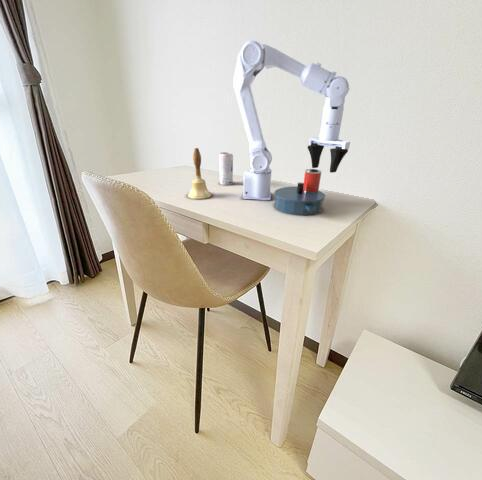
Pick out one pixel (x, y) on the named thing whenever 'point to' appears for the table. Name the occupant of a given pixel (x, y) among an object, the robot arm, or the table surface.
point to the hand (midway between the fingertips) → (323, 169)
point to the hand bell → (198, 180)
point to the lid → (299, 194)
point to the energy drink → (226, 168)
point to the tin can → (311, 180)
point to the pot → (298, 207)
